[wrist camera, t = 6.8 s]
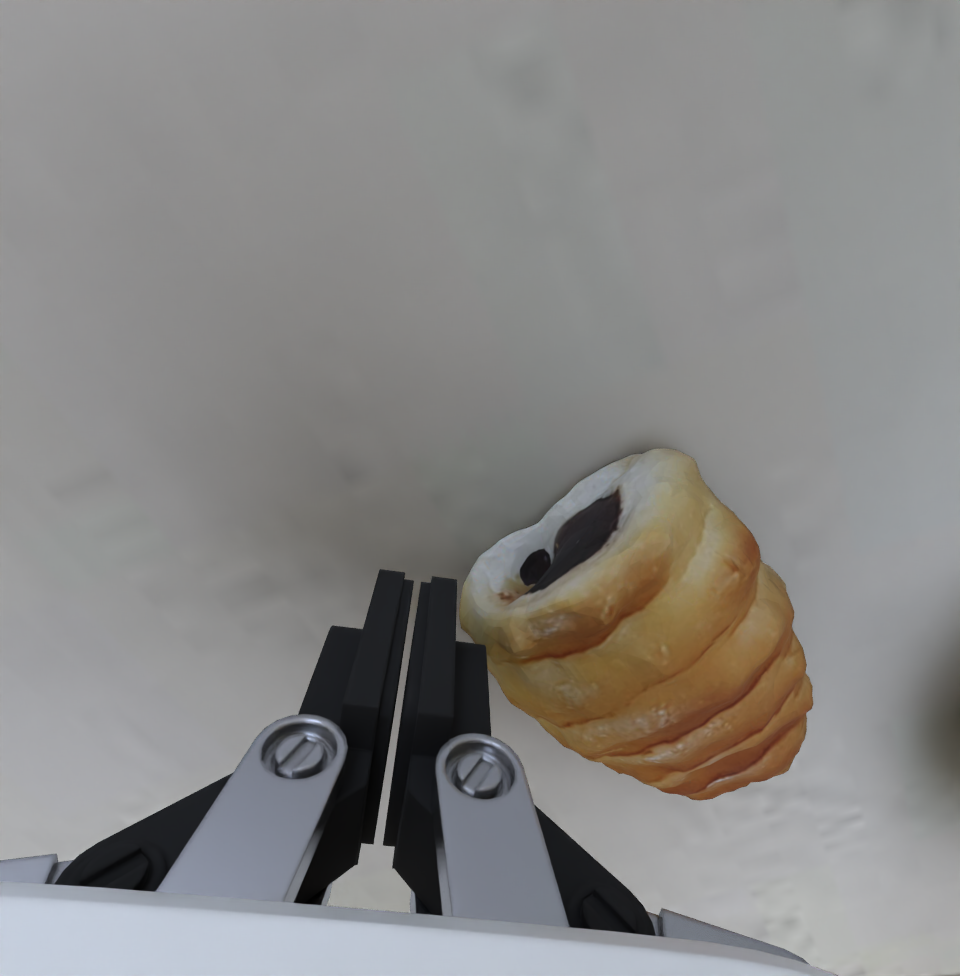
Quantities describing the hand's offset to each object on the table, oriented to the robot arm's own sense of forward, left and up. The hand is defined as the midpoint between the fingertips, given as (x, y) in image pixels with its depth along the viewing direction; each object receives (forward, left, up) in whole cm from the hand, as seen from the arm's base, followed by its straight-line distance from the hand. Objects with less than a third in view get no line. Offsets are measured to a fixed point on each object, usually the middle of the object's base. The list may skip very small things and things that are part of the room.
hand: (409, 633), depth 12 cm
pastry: (0, +6, -3) cm, 6 cm away
